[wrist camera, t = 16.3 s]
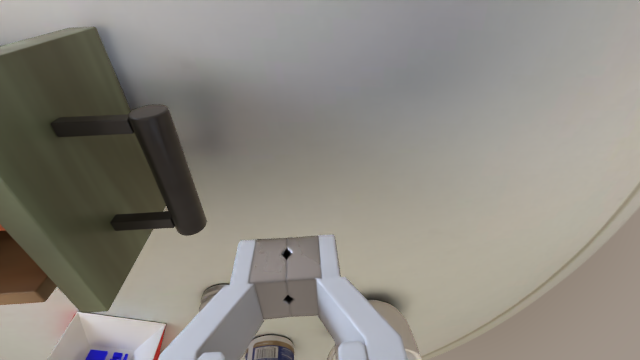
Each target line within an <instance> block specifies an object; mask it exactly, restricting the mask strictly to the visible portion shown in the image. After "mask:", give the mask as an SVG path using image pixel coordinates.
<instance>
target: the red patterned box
mask: <svg viewBox="0 0 640 360" xmlns="http://www.w3.org/2000/svg"><path fill="white" fill-rule="evenodd" d="M165 327H166V324H164V323H157V322H149V321H142V320H134V319H127V318H120V317H112V316H105V315H97V314H90V313H82V312H76V314H75V315H74V317H73V319H72V320H71V322H70V323H69V325H68V326H67V328H66V330H65V331H64V333H63V335H62V336H61V338H60V339H59V341H58V342H57V344H56V346H55V347H54V349H53V350H52V352H51V353H50V355H49V357H48V358H47V360H158V358H159V354H160V349H161V344H162V340H163V335H164V331H165Z"/></svg>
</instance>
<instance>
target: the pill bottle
mask: <svg viewBox="0 0 640 360" xmlns="http://www.w3.org/2000/svg"><path fill="white" fill-rule="evenodd" d="M245 360H294V346H293V343H292V342H291V341H290V340H289V339H287V338H284V337H281V336H276V335H266V336H261V337H258V338H256V339H254V340H252V341H251V342H250V344H249V346H248V347H247V350H246V356H245Z"/></svg>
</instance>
